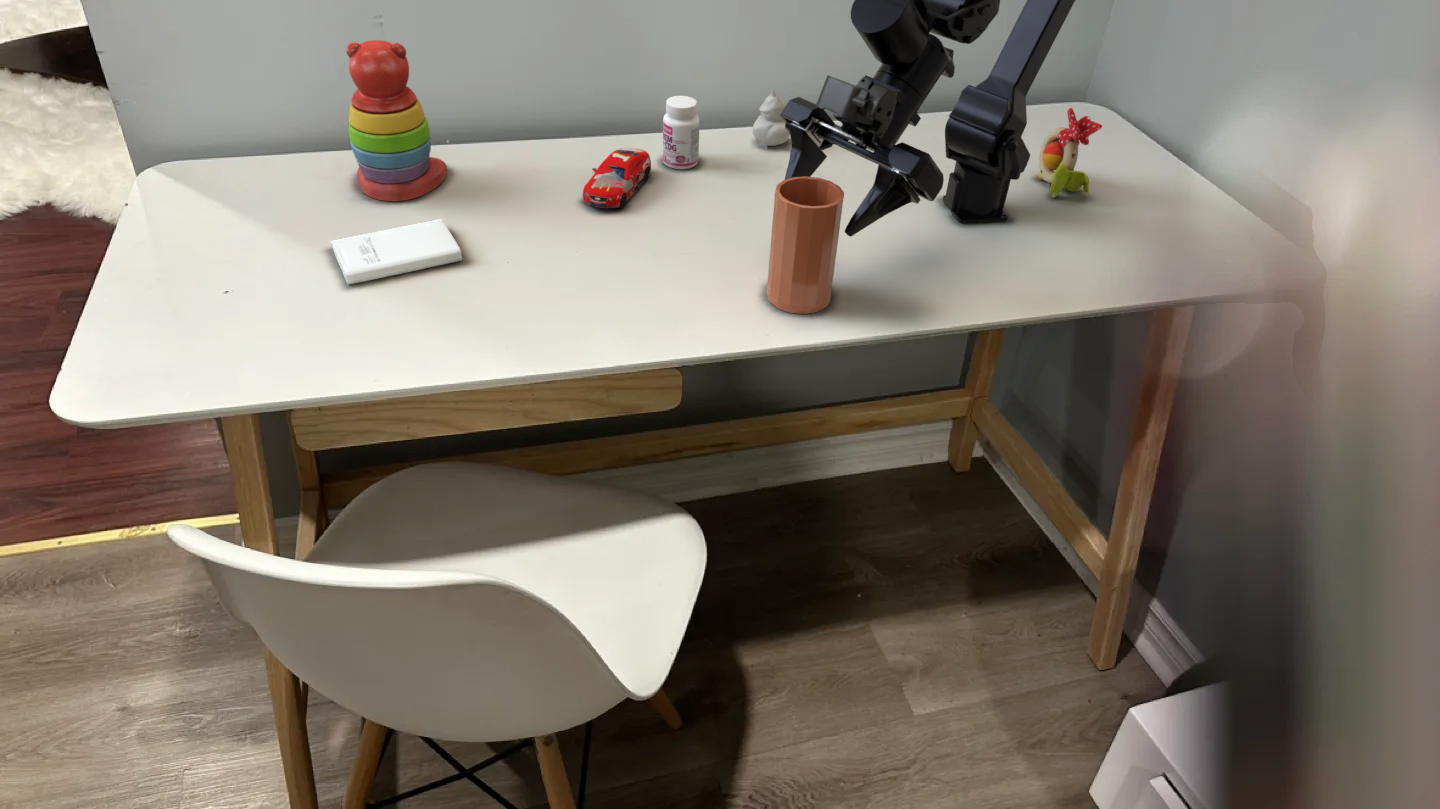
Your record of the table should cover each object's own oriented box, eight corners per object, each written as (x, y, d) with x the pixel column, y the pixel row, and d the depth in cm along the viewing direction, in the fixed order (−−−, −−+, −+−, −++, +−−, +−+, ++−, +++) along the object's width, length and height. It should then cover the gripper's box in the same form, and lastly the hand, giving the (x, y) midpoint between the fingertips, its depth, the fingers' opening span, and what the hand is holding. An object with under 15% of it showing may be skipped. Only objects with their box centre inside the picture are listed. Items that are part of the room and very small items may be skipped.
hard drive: (463, 262, 111) (348, 286, 106) (442, 229, 117) (332, 250, 112) (461, 249, 110) (345, 273, 105) (441, 217, 116) (330, 238, 111)
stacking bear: (450, 167, 129) (431, 27, 118) (435, 204, 121) (413, 58, 110) (366, 164, 129) (338, 24, 118) (345, 201, 121) (313, 55, 110)
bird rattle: (1019, 197, 134) (1060, 200, 126) (1019, 111, 131) (1062, 109, 122) (1059, 192, 136) (1102, 196, 127) (1060, 107, 132) (1105, 105, 124)
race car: (617, 217, 121) (616, 186, 118) (576, 208, 122) (574, 178, 120) (658, 172, 131) (658, 143, 128) (620, 164, 132) (619, 136, 129)
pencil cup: (802, 273, 112) (813, 170, 104) (843, 301, 108) (858, 197, 100) (754, 291, 109) (761, 186, 101) (794, 321, 105) (805, 214, 97)
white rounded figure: (745, 137, 140) (748, 81, 135) (788, 132, 142) (793, 77, 137) (759, 153, 136) (764, 96, 131) (803, 148, 138) (809, 92, 133)
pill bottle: (656, 165, 132) (656, 104, 127) (671, 151, 136) (672, 91, 130) (689, 173, 131) (690, 111, 125) (703, 159, 134) (706, 98, 129)
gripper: (799, 18, 101) (715, 149, 102) (947, 73, 90) (851, 218, 91) (843, 77, 110) (765, 196, 111) (981, 133, 100) (894, 265, 101)
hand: (814, 217), depth 103 cm, fingers open, 9 cm apart
